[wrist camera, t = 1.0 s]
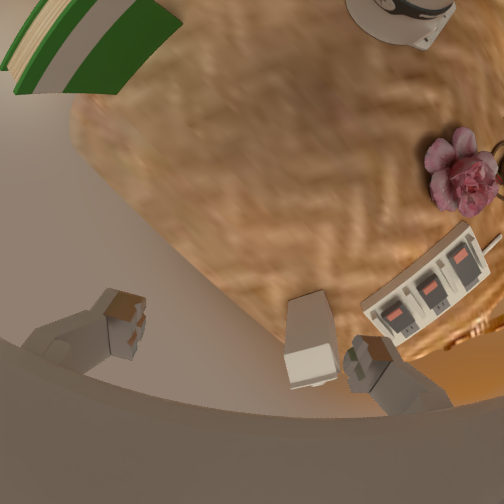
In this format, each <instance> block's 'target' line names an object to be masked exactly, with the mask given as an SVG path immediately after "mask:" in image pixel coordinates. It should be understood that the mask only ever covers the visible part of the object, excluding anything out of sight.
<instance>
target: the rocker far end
mask: <svg viewBox="0 0 504 504" xmlns="http://www.w3.org/2000/svg"><path fill="white" fill-rule="evenodd" d="M380 315H381V317H382V319H383V320H384V321H385V322H386V323H387V324H388V325H389V326H390V327H391V328H392V329H393V330H394V331H395V332H396V333H397V334H398V333H399V332H401V331H402V330H404V329H405V328H407V327H408V326H409V325H411V324H412V323H414V322H415V319H414V317H413V315H412V314H411V313H410V312H409V310H408V309H407V308H406V307H405V306H404V304H403V303H402V302H401V301H400V300H399V301H397V302H396V303H394V304H393V305H392V306H390V307H389V308H388V309H386V310H385V311H383V312H382V313H381V314H380Z"/></svg>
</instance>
